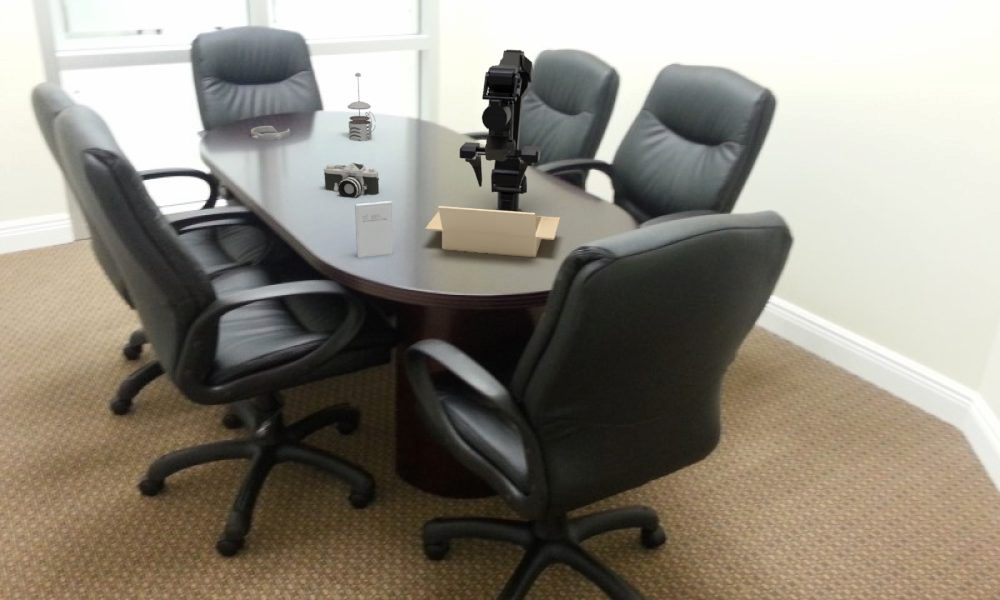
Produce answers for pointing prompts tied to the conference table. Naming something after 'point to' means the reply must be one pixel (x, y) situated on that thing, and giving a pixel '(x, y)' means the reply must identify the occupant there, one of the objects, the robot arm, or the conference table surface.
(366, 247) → the hard drive
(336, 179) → the camera
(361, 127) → the french press
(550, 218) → the carton
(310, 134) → the conference table surface
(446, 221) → the kraft flap
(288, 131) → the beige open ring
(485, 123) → the robot arm
